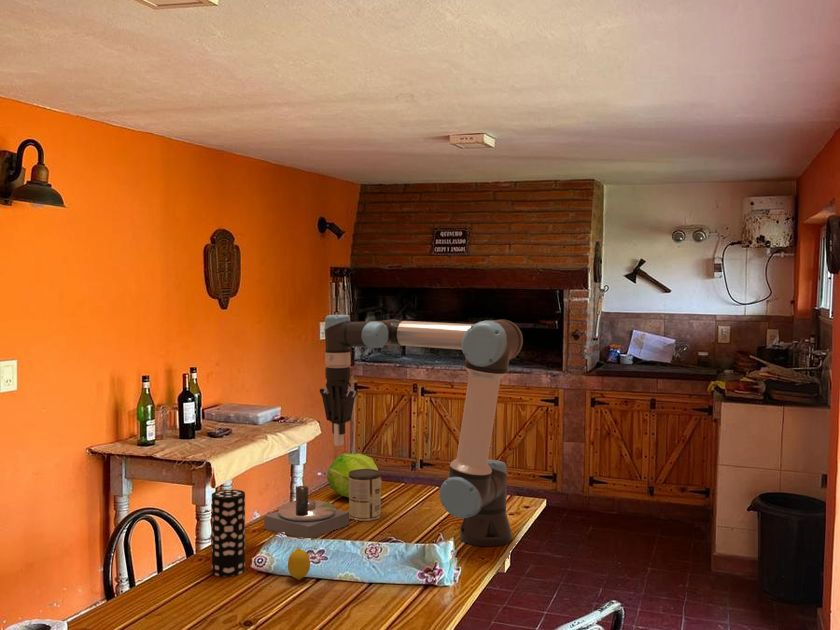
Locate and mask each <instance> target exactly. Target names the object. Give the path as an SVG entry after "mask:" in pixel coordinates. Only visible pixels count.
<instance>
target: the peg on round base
mask: <svg viewBox="0 0 840 630" xmlns="http://www.w3.org/2000/svg"><path fill="white" fill-rule="evenodd" d="M335 509H336V506H335V505H334V504H333V503H331V502H328V501H324V500H314V499H310V498H309V486H307V485H299V486H296V487H295V501H291V502H290V501H289V502H287V503H286V502H285V503H284V504H282V505H280V506H279V508H278V511H279V516H280V517H282V518H284V519H287V520H292V521H317V520H323V519H326V518H329V517H332V516H333V515H334V514H335Z"/></svg>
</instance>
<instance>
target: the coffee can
mask: <svg viewBox="0 0 840 630" xmlns="http://www.w3.org/2000/svg"><path fill="white" fill-rule="evenodd" d="M381 481H382V471H380V470H379V469H378V470H375V469H357V470H352V471H350V472H349V498H348V512H349V519H351V520H353V519H354V521H358V520H359V521H360V522H367V521H375V520H378V519H380V518H381V517H382V514H381V513H382V512H381V510H382V508H381V507H382V504H381V503H382V501H381V498H382V494H381V492H382V491H381V490H382V484H381ZM359 521H358V522H359Z"/></svg>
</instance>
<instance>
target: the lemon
mask: <svg viewBox="0 0 840 630" xmlns="http://www.w3.org/2000/svg"><path fill="white" fill-rule="evenodd" d="M310 559H311V558H310V555H309V554H308V553H307V551H306V550H304V549H302V548H297V549H295V550H293V551H292V552H291V553H290V554H289V557H288V560H287V570H288V573H289V575H290V576H291V577H292V578H295V579H296V580H297V581H301V579H303V578H305V577H306V576H307V575H308V574H309V571H310V568H311V560H310Z"/></svg>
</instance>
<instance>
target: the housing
mask: <svg viewBox="0 0 840 630" xmlns="http://www.w3.org/2000/svg"><path fill="white" fill-rule="evenodd" d="M263 516H264V520H263V521H264V522H263V523H264V526H263V527H264V528H263V529H264V530H267V531H272V532H275V533H279V532H285V533H286V534H287V536H290V537H294V536H295V538H298V537H303V538H314V539H316V538H319V537H321V536H320V535H322V534H324V535H326V534H325V533H327V534H329V533H328V532H330V533H331V531H332V532H334V531H333V530H335V531H337V530H336V529H338V530H340V529H342V527H343V528H345V527H348V526H350V518H349V511H346V510H342V509H341V510H340V509H336V508H335V514H334V515H333V516H332V517H329V518H326V519H323V520H317V521H292V520H287V519H284V518H282V517H280V516H279V510H277V511H274V512H271V513H269V514H265V515H263ZM347 525H348V526H347ZM339 528H340V529H339ZM286 534H285V535H286ZM318 536H319V537H318ZM322 536H323V535H322ZM315 537H316V538H315Z"/></svg>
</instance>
